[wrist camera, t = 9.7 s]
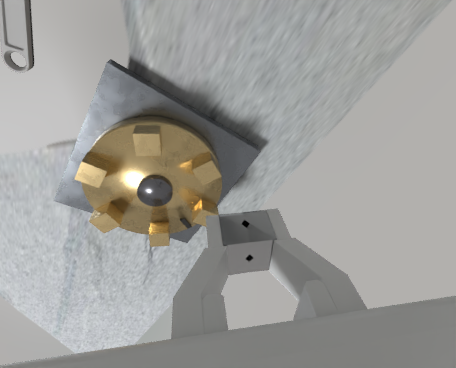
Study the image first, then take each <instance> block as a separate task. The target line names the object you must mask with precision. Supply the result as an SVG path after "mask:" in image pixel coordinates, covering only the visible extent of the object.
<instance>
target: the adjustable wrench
mask: <svg viewBox="0 0 456 368" xmlns="http://www.w3.org/2000/svg"><path fill="white" fill-rule="evenodd" d="M0 41H1V52H2V58H3V61H4V63H5V64H6V66H7V67H8V68H10V69H11V70H13V71H15V72H19V73H23V72H26V71H28V70H30V69H31V68H33V66H34V49H33V31H32V16H31V0H0ZM12 52H19V53H20V54H21V55H22V56H23V57H24V58H25V60H26V63H27V65H26V66H25V67H19V66H18V65H16V64H15V63H14V62H13V60H12V59H11V53H12Z"/></svg>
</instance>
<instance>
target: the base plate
mask: <svg viewBox="0 0 456 368" xmlns="http://www.w3.org/2000/svg"><path fill="white" fill-rule="evenodd" d="M148 116H152V117H162V118H167V119H171V120H174V121H177V122H180V123H182V124H185V125H187V126H189V127H190V128H192V129H193V130H195V131H196V132H198V133H199V134H200V135H201V136H203V138H204V139H205V140H206V141H207V142H208V143H209V144H210V146H211V147H212V149H213V150H214V152H215V154H216V157H217V160H218V163H219V167H220V171H221V175H222V190H221V195H220V198H219V201H218V203H217V205H218V204H219V203H220V202H221V200H222V199H223V198H224V197H225V195H226V194H227V193H228V192H229V190H230V189H231V188H232V187H233V185H234V184H235V183H236V182H237V180H238V179H239V178H240V177H241V175H242V174H243V173H244V172H245V170H246V169H247V168H248V167H249V166H250V164H251V163H252V162H253V161H254V159H255V158H256V157H257V156H258V154H259V153H260V152H261V151H260V150H259V148H258V146H257V145H255V144H254V143H252V142H250V141H248V140H247V139H245V138H243V137H242V136H240V135H238V134H237V133H235V132H233V131H232V130H230V129H228V128H226V127H225V126H223V125H221V124H220V123H218V122H216V121H215V120H213V119H211V118H210V117H208V116H206V115H204V114H203V113H201V112H199V111H198V110H196V109H194V108H193V107H191V106H189V105H187V104H186V103H184V102H182V101H181V100H179V99H177V98H176V97H174V96H172V95H171V94H169V93H167V92H165V91H164V90H162V89H160V88H159V87H157V86H155V85H154V84H152V83H150V82H149V81H147V80H145V79H143V78H142V77H140V76H138V75H137V74H135V73H133V72H132V71H130V70H128V69H127V68H125V67H123V66H121V65H120V64H118V63H116V62H115V61H113V60H109V61H108V62H107V64H106V66H105V69H104V71H103V74H102V76H101V79H100V82H99V84H98V87H97V90H96V92H95V95H94V97H93V100H92V102H91V105H90V108H89V110H88V113H87V116H86V118H85V121H84V123H83V126H82V128H81V131H80V134H79V136H78V139H77V141H76V144H75V147H74V149H73V152H72V154H71V157H70V160H69V162H68V165H67V167H66V170H65V173H64V175H63V178H62V180H61V183H60V186H59V188H58V191H57V193H56V196H55V199H54V201H56V202H59V203H62V204H65V205H68V206H72V207H75V208H78V209H81V210H84V211H87V212H91V213H93V211H94V208H93V207H92V206H91V205H90V203H89V201H88V200H87V198H86V196H85V194H84V191H83V188H82V183H81V182H80V181H78V180H75V176H76V174H77V171H78V169H79V167H80V164H81V162H82V160H83V158H84V157H85V155H86V154H87V152H89V151H90V149H91V147H92V146H93V144H94V143H95V141H96V140H97V139H98V137H99V136H100V135H101V134H102V133H103V132H104V131H106V130H107V129H108V128H110V127H111V126H113V125H115V124H117V123H119V122H121V121H124V120H128V119H131V118H137V117H148ZM200 226H201V225H200V224H196V225H195V226H193V227H191V228H188V229H186V230H183V231H180V232H176V233H171V234H170V238H173V239H176V240H179V241H182V242H186V243H188V241H189V240H190V239H191V238H192V236H193V235H194V234H195V233H196V231H197V230H198V229H199V228H200Z"/></svg>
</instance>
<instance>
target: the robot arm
mask: <svg viewBox="0 0 456 368" xmlns="http://www.w3.org/2000/svg"><path fill="white" fill-rule="evenodd" d="M206 227H207V238H208V248H205V249H204V250H203V252H202V254H201V255H200V257H199V258H198V260H197V261H196V263H195V265H194V266H193V268H192V269H191V271H190V272H189V274H188V276H187V277H186V279H185V280H184V282H183V283H182V285H181V287H180V288H179V290H178V291H177V293H176V294H175V296H174V298H173V314H172V335H171V339H169V340H162V341H157V342H149V343H143V344H136V345H130V346H123V347H117V348H110V349H104V350H97V351H91V352H84V353H77V354H71V355H64V356H58V357H51V358H45V359H39V360H32V361H25V362H19V363H12V364H5V365H0V368H456V296H451V297H444V298H438V299H431V300H425V301H419V302H412V303H405V304H399V305H392V306H386V307H379V308H373V309H367V308H366V306H365V304H364V303H363V301H362V299H361V297H360V296H359V294H358V292H357V291H356V289H355V287H354V285H353V284H352V282H351V280H350V279H349V277H348V275H347V274H346V273H344V272H343V271H341V270H340V269H338V268H337V267H335V266H334V265H333V264H331V263H330V262H328V261H327V260H326V259H324V258H323V257H321V256H320V255H318V254H317V253H316V252H314V251H313V250H311V249H310V248H308V247H307V246H306V245H304V244H303V243H302V242H300V241H299V240H297V239H296V238H291V236H290V234H289V232H288V229H287V227H286V225H285V223H284V221H283V218H282V216H281V214H280V212H279V210H278V209H269V210H260V211H252V212H243V213H232V214H220V215H210V216H206ZM264 270H269V271H270V273H271V274H273V275H274V277H275V278H276V279H277V280H278V281H279V282H280V283H281V284H282V285H283V286H284V287H285V288H286V289H287V290H288V291H289V292H290V293H291V294H292V295H293V296H294V297H295V299H297V300H298V302H299V304H298V307H297V310H296V313H295V316H294V320H293V321H287V322H280V323H274V324H267V325H261V326H254V327H248V328H241V329H234V330H228V326H227V319H226V311H225V304H224V297H223V296H222V295H221V292H222V289H223V287H224V285H225V282H226V280H227V278H228V275H233V274H239V273H246V272H253V271H264Z"/></svg>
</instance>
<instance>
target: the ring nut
mask: <svg viewBox="0 0 456 368" xmlns="http://www.w3.org/2000/svg"><path fill="white" fill-rule="evenodd" d="M75 180H78V181H80V182H81V183H82V188H83V191H84V194H85V196H86V198H87V200H88V201H89V203H90V205H91V206H92V207H93V208H94V211H93V213H92V215H91V218H90V220H89V222H90V223H92V224H93V225H94V226H95V227H97V228H98V229H99V230H100V231H102V232H103V233H106V232H108V231H110V230H112V229H114V228H116V227H120V228H123V229H125V230H128V231H132V232H136V233H141V234H149V240H150V246H151V247H154V246H169V244H170V234H171V233H176V232H180V231H183V230H186V229H188V228H191V227H193V226H195V225H196V224H200V225H202V226H205V227H206V216H210V215H219V214H218V208H217V203H218V201H219V198H220V195H221V190H222V175H221V171H220V167H219V163H218V160H217V157H216V154H215V152H214V150H213V149H212V147H211V146H210V144H209V143H208V142H207V141H206V140H205V139H204V138H203V136H201V135H200V134H199V133H198V132H196V131H195V130H193V129H192V128H190V127H189V126H187V125H185V124H182V123H180V122H177V121H174V120H171V119H167V118H162V117H152V116H148V117H137V118H131V119H128V120H124V121H121V122H119V123H117V124H115V125H113V126H111V127H110V128H108V129H107V130H106V131H104V132H103V133H102V134H101V135H100V136H99V137H98V139H97V140H96V141H95V143H94V144H93V146H92V147H91V149H90V151H89V152H87V154H86V155H85V157H84V158H83V160H82V162H81V164H80V167H79V169H78V171H77V174H76V176H75Z"/></svg>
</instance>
